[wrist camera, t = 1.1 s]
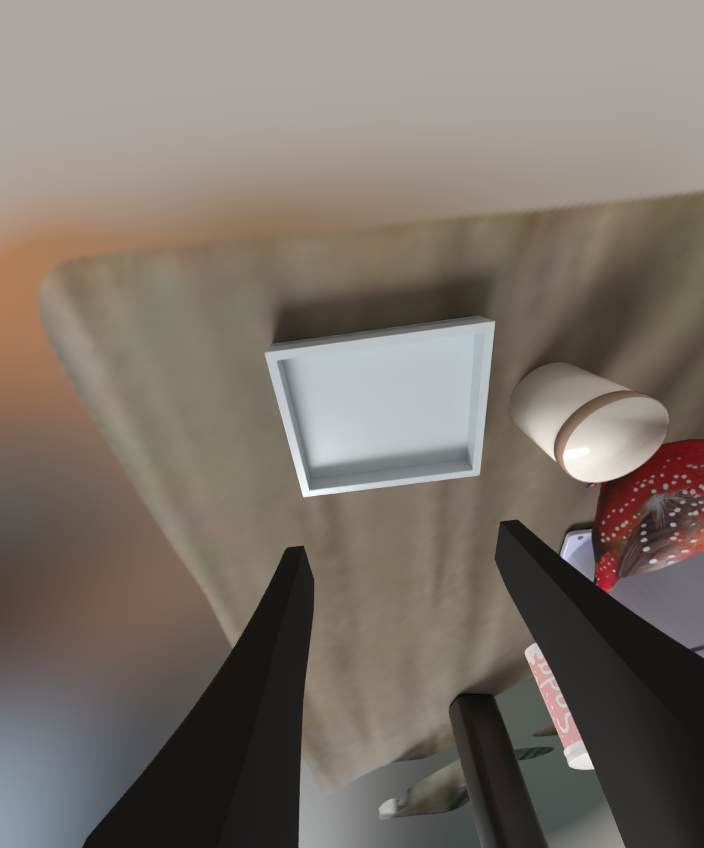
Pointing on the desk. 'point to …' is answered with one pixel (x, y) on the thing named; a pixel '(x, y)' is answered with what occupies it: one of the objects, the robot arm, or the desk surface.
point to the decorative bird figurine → (650, 514)
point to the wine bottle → (494, 776)
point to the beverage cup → (558, 710)
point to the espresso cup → (588, 421)
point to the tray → (385, 404)
